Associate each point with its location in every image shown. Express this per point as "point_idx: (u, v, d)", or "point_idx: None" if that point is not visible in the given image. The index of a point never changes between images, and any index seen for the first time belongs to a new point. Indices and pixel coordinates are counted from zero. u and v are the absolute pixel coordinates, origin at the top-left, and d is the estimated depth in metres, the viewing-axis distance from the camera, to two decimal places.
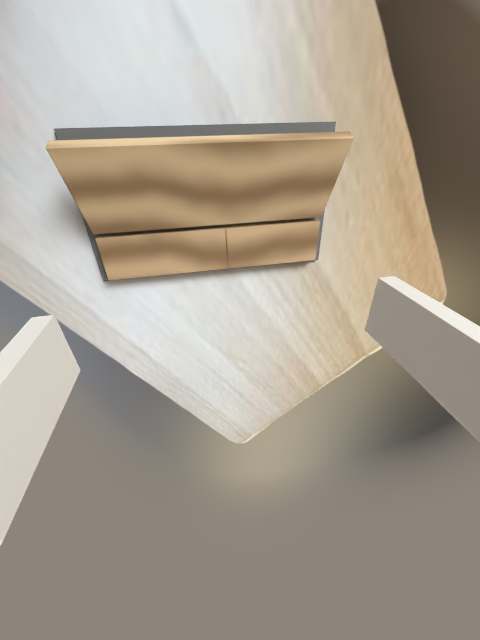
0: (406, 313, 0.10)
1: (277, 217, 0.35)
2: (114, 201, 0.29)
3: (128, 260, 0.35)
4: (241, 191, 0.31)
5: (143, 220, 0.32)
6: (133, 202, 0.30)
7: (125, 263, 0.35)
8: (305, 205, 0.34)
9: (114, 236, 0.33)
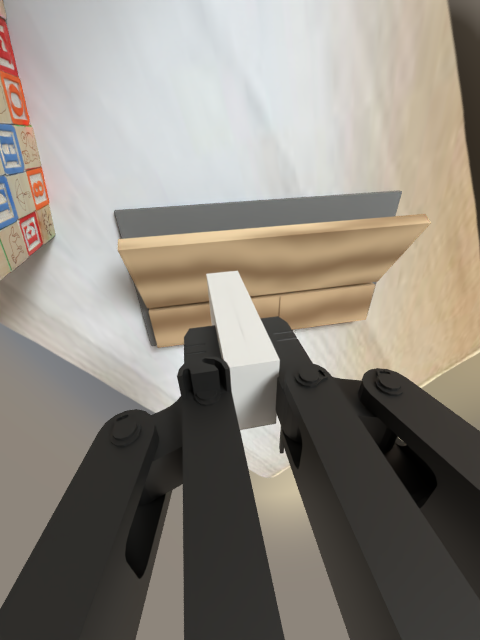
0: None
1: (333, 284, 0.34)
2: (175, 283, 0.28)
3: (179, 329, 0.34)
4: (304, 268, 0.29)
5: (200, 295, 0.31)
6: (194, 283, 0.28)
7: (176, 332, 0.34)
8: (365, 274, 0.33)
9: (167, 308, 0.32)
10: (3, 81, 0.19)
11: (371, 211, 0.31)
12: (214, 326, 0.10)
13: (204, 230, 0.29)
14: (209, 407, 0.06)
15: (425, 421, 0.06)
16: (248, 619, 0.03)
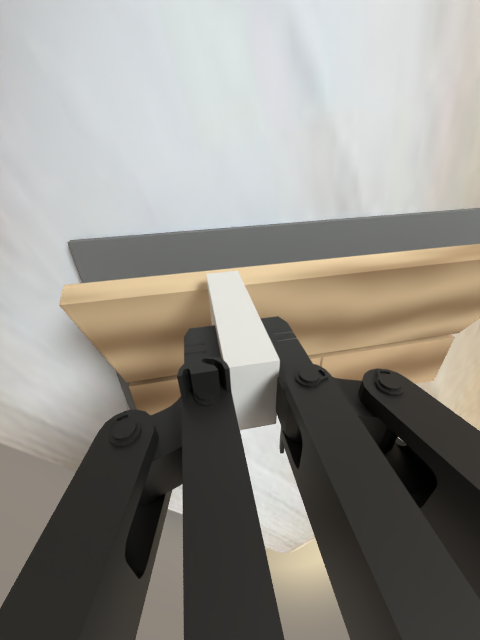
0: None
1: (399, 339, 0.23)
2: (167, 350, 0.18)
3: None
4: (366, 320, 0.19)
5: None
6: None
7: None
8: (447, 324, 0.22)
9: (157, 379, 0.22)
10: None
11: (462, 236, 0.21)
12: (214, 326, 0.10)
13: (214, 268, 0.19)
14: (209, 407, 0.06)
15: (425, 421, 0.06)
16: (247, 618, 0.03)
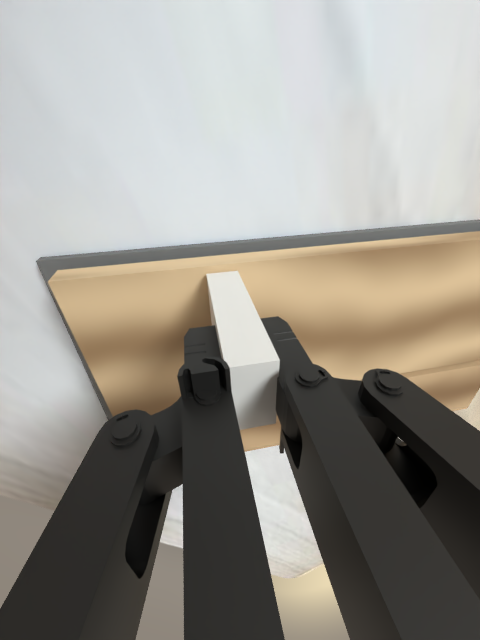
0: None
1: (432, 363, 0.20)
2: (163, 364, 0.15)
3: None
4: (386, 328, 0.17)
5: None
6: None
7: None
8: None
9: None
10: None
11: None
12: (214, 326, 0.10)
13: None
14: (209, 407, 0.06)
15: (425, 421, 0.06)
16: (247, 618, 0.03)
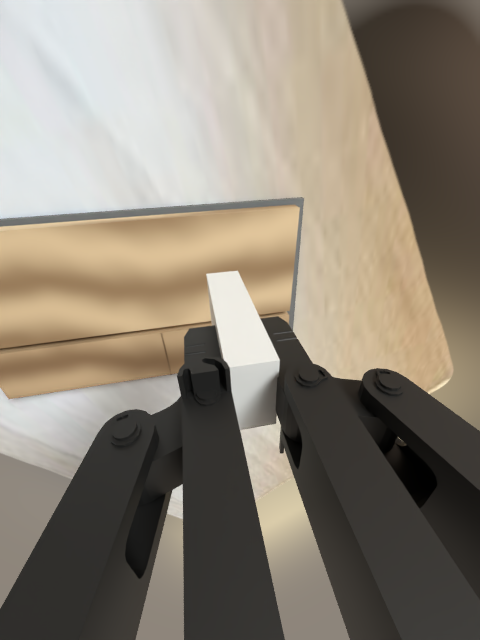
0: None
1: None
2: None
3: (31, 376, 0.26)
4: (169, 282, 0.23)
5: (42, 328, 0.24)
6: (22, 305, 0.22)
7: (28, 379, 0.26)
8: (263, 295, 0.26)
9: (6, 351, 0.25)
10: None
11: None
12: (214, 326, 0.10)
13: None
14: (209, 407, 0.06)
15: (425, 421, 0.06)
16: (248, 618, 0.03)
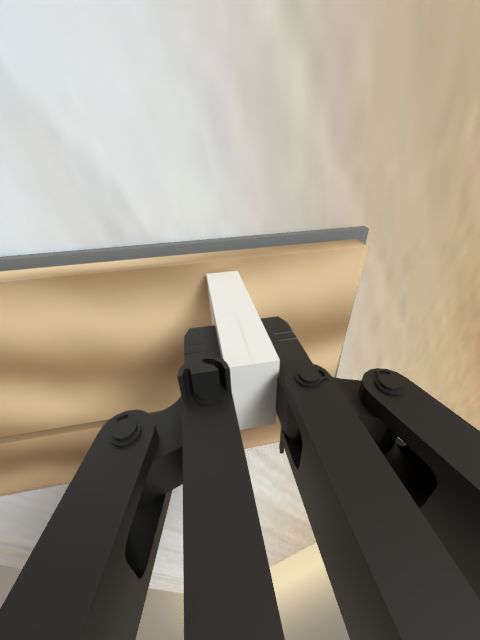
0: None
1: None
2: None
3: None
4: (160, 357, 0.15)
5: None
6: None
7: None
8: None
9: None
10: None
11: None
12: (214, 326, 0.10)
13: None
14: (209, 407, 0.06)
15: (425, 421, 0.06)
16: (247, 618, 0.03)
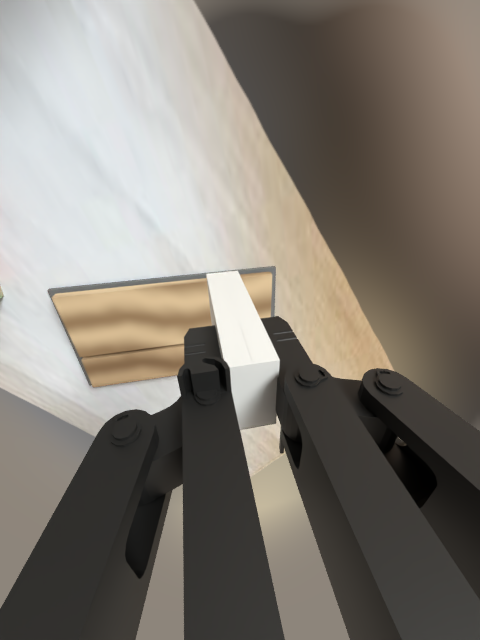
0: None
1: None
2: (97, 330, 0.38)
3: (109, 372, 0.42)
4: (196, 316, 0.40)
5: (120, 343, 0.40)
6: (112, 330, 0.38)
7: (106, 375, 0.42)
8: None
9: (97, 356, 0.41)
10: None
11: None
12: (214, 326, 0.10)
13: None
14: (209, 407, 0.06)
15: (425, 421, 0.06)
16: (247, 618, 0.03)
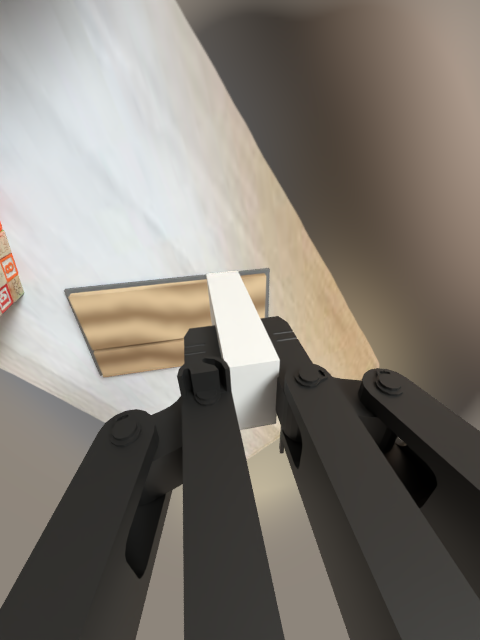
0: None
1: None
2: (108, 326, 0.42)
3: (118, 364, 0.47)
4: (197, 313, 0.44)
5: (129, 338, 0.44)
6: (121, 325, 0.43)
7: (116, 366, 0.47)
8: None
9: (107, 349, 0.45)
10: None
11: None
12: (214, 326, 0.10)
13: None
14: (209, 407, 0.06)
15: (425, 421, 0.06)
16: (247, 618, 0.03)
